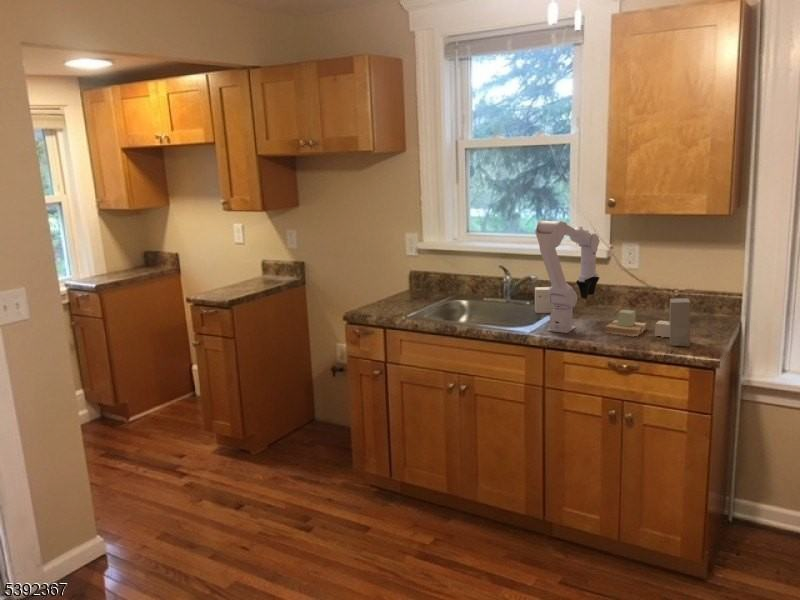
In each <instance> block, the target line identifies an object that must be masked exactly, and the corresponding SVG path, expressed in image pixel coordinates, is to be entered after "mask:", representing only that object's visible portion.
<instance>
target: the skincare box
mask: <svg viewBox="0 0 800 600" xmlns="http://www.w3.org/2000/svg"><path fill="white" fill-rule="evenodd" d="M690 312H691V300H690V298H686V297H683V298H670V299H669V314H668V315H669V322H670V338H669V343H670V346H673V347H688V348H690V346H691V317H690V316H691V313H690Z"/></svg>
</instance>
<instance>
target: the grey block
mask: <svg viewBox="0 0 800 600" xmlns="http://www.w3.org/2000/svg"><path fill="white" fill-rule="evenodd" d="M654 326H655V328H654V329H655V331H654V337H656V336H661V337H660V338H664V337H670V321H667V320H658V321H657V322H655V325H654Z"/></svg>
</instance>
